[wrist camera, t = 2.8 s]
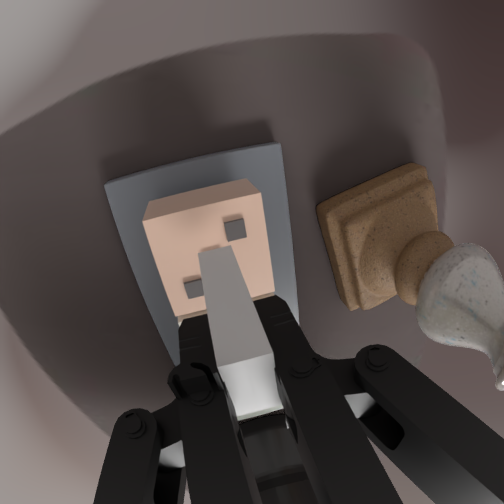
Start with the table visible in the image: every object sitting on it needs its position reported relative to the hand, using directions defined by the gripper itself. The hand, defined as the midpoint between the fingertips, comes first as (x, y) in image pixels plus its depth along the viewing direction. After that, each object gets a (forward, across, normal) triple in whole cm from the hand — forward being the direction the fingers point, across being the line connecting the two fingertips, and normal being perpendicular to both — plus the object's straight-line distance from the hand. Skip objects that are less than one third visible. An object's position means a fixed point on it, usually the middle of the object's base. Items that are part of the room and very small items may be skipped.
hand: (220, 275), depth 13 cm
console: (+9, 0, +7) cm, 11 cm away
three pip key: (+6, 0, 0) cm, 6 cm away
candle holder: (+9, -15, +5) cm, 18 cm away
